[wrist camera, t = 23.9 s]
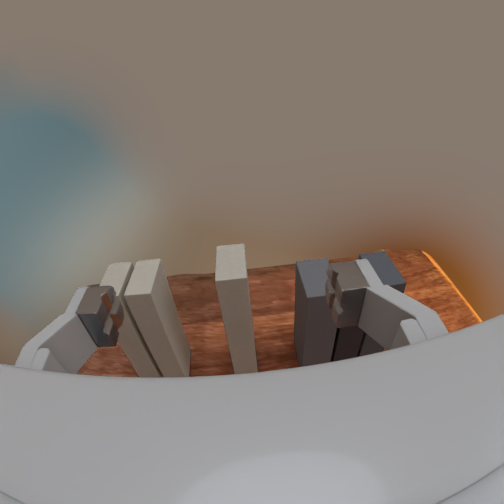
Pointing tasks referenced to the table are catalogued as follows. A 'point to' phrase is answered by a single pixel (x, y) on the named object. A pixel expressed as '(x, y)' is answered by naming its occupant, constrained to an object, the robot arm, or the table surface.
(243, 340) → the white book
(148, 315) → the white books
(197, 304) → the table surface
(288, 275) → the table surface
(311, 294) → the grey books
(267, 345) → the table surface
